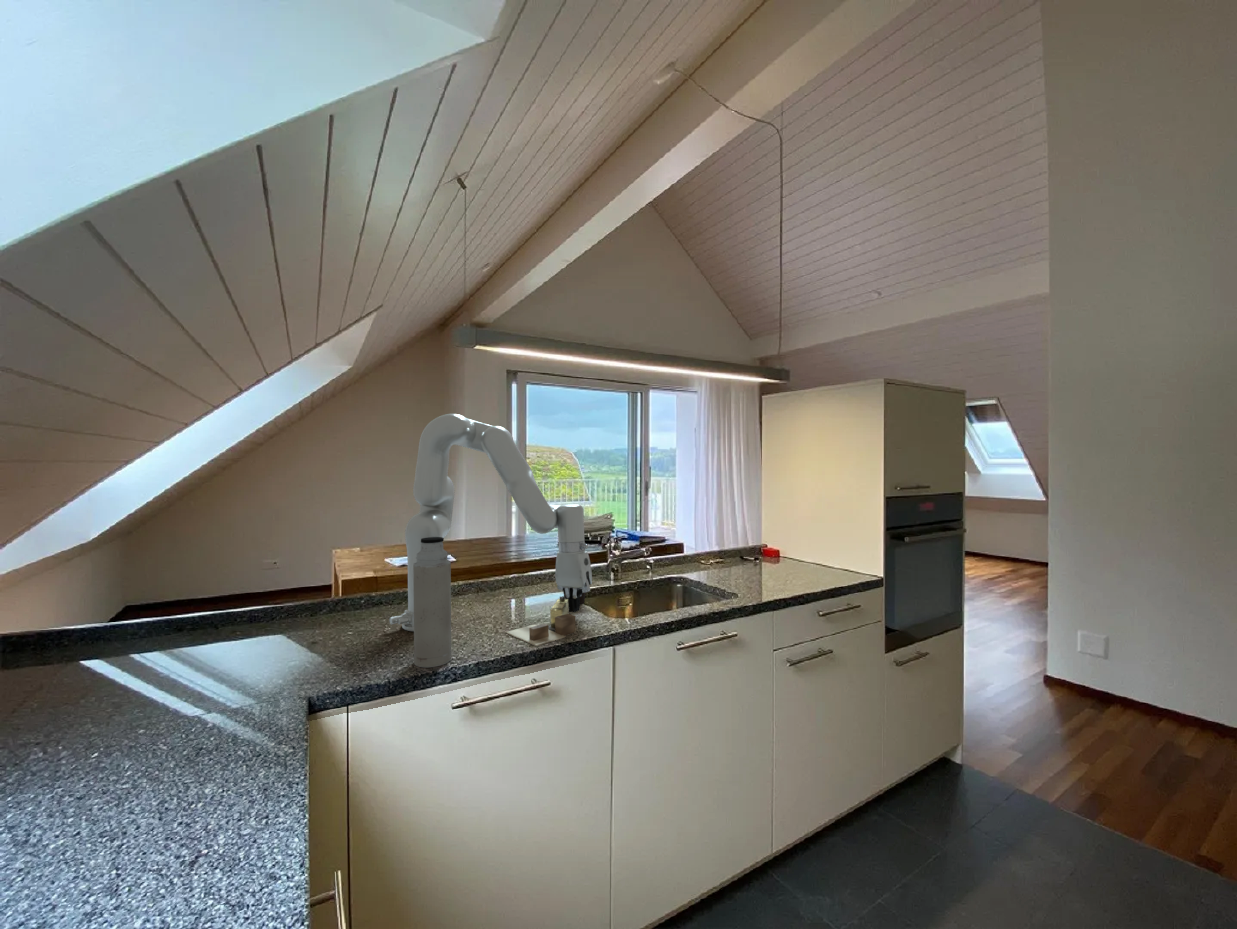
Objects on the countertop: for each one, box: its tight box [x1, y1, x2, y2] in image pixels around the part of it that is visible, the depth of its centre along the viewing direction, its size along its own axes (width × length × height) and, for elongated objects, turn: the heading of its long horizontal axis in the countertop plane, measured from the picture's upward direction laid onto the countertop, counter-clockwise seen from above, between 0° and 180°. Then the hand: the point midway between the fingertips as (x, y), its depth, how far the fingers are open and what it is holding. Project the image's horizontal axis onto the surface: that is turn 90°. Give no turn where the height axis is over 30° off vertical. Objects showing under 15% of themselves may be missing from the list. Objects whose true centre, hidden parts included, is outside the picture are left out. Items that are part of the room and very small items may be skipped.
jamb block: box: [554, 613, 576, 637], centre depth 134 cm, size 4×3×4 cm
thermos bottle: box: [413, 537, 452, 669], centre depth 115 cm, size 8×8×28 cm
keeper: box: [529, 623, 549, 641], centre depth 129 cm, size 5×2×3 cm, turn 134°
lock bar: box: [549, 595, 569, 628], centre depth 143 cm, size 13×3×5 cm, turn 176°
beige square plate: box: [505, 624, 567, 647], centre depth 134 cm, size 14×14×1 cm
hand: (574, 610), depth 146 cm, fingers closed
